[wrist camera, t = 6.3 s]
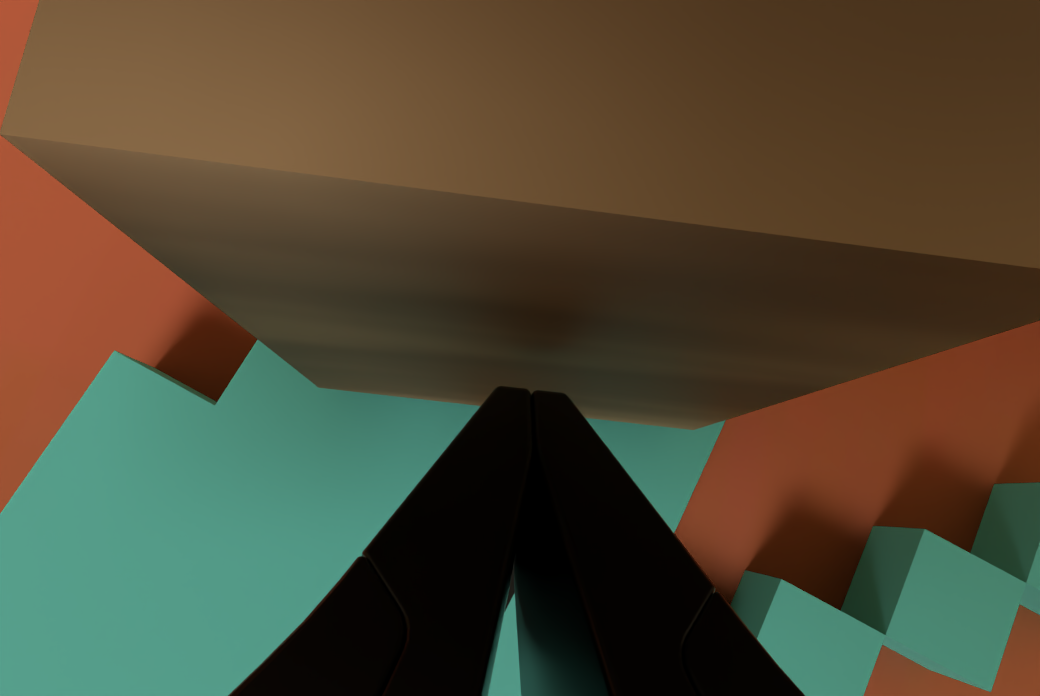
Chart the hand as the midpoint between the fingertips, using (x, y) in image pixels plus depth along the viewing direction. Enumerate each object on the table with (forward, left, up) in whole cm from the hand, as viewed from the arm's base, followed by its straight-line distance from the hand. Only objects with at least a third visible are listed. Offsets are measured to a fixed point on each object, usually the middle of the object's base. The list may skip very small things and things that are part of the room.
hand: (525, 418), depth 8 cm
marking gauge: (+5, +1, -4) cm, 6 cm away
